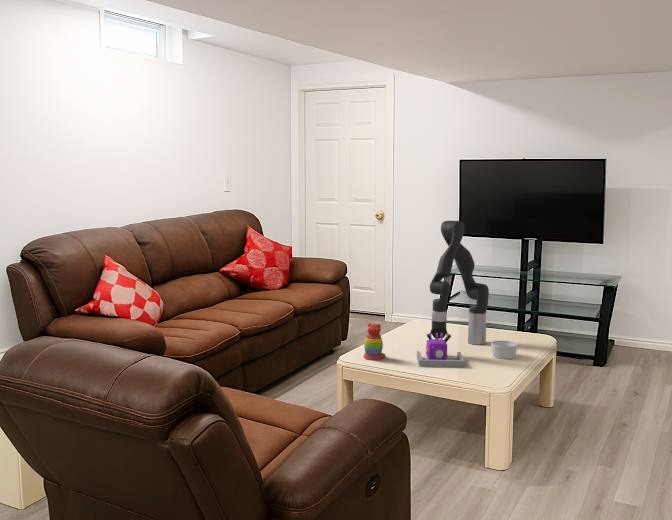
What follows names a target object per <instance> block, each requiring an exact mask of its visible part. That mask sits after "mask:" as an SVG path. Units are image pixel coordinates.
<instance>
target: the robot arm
mask: <svg viewBox="0 0 672 520" xmlns="http://www.w3.org/2000/svg"><path fill="white" fill-rule="evenodd" d="M440 232H441V236H442V237H443V239H444V240H445V243H446V244H447V249H446V250H445V251H444V252H443V253H442V255H441V256H440V259H439V261H438V264H437V269H436V272H435V274H434V275H433V278H432V279H431V282H430V284H429V291H430V293H431V294H433V295H440V298H434V299H433V300H432V313H431V329H430V331H429V332H428V333H427V334H426V337H427V338H428V340H429V339H433V338H434V339H440V338H442V339H443V340H444V341H445V342H446V343H447V342H448V341H449V340H450V339H451V338H452V334H451V333H449V332H448V330H447V319H448V316H447V315H448V313H447V305H448V304H447V303H448V299H449V296H450V292H451V289H452V288H451V284H450V283H449V282H448V281H444V280H443V279H445V278H446V279H447V278H449V277H451V273H452V269H453V265H454V264H453V263H454V262H455V264H456V267H457V269H458V271H459V274H460V277H461V279H462V283H463V286H464V289H465V290H464V291H465V293H466V296H467V297H468V298H469V299H471V300H476V304H474V305H470V306H469V308H468V329H467V330H468V333H467V343H468V344H471V345H480V346H481V345H486V344H487V341H486V340H487V325H486V324H487V318H486V317H487V310H488V306H489V295H490V289H489V286H488V285H487V284H485V283H480V282H476V281H475V279H474V276H473V273H474V269H475V265H476V264H475V260H474V259H473V256H472V254H471V252H470V251H469V250H468V249H467V248H466V246H464V245H463V244H462V243H461V242H462V240H463V236H464V234H465V224H464V223H463V221H461V220H444V221H442V223H441V225H440Z"/></svg>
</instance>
